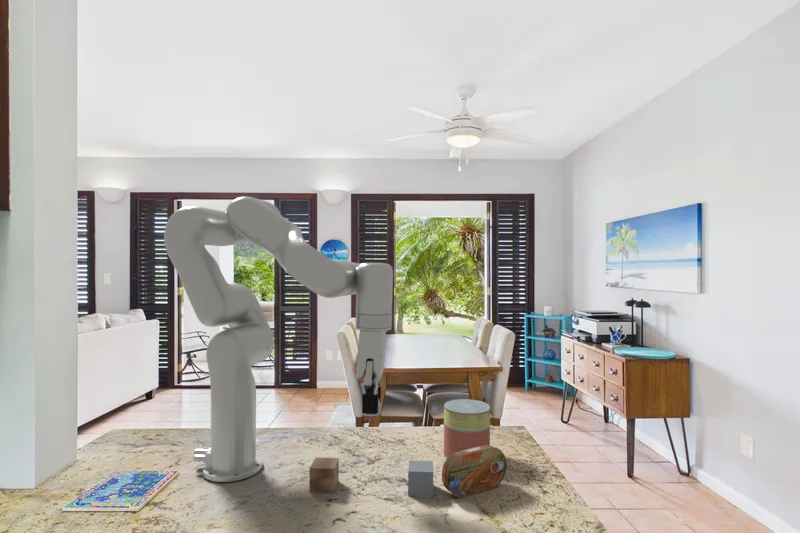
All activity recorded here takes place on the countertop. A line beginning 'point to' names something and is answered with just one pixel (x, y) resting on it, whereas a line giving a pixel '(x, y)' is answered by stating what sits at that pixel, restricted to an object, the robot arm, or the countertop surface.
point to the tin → (474, 470)
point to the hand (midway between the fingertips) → (371, 408)
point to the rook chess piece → (378, 403)
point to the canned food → (465, 425)
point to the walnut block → (324, 475)
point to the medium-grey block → (420, 478)
